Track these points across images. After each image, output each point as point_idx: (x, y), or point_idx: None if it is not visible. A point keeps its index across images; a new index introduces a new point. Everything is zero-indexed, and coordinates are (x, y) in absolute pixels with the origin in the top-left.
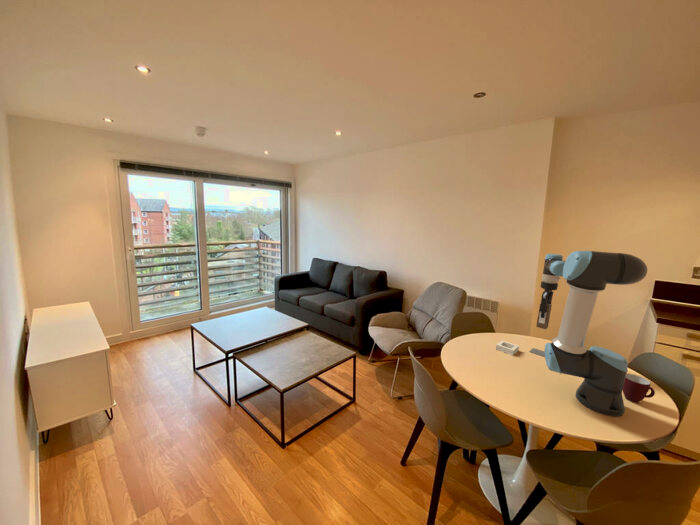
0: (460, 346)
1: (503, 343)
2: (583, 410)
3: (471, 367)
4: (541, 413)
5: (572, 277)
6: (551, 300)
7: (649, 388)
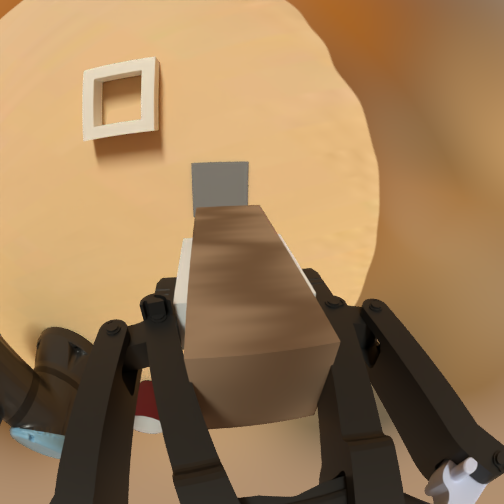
0: (29, 17)
1: (137, 72)
2: (29, 338)
3: None
4: None
5: None
6: (398, 414)
7: (149, 425)
